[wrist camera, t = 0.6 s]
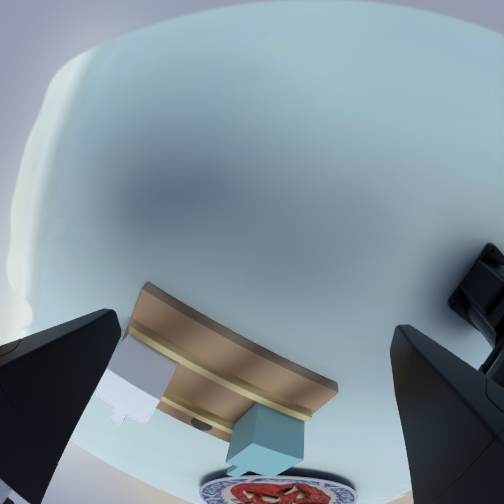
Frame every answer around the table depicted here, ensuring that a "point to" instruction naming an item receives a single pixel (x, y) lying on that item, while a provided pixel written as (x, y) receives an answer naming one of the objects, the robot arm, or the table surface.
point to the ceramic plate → (276, 491)
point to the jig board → (220, 368)
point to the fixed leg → (135, 380)
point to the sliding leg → (265, 442)
